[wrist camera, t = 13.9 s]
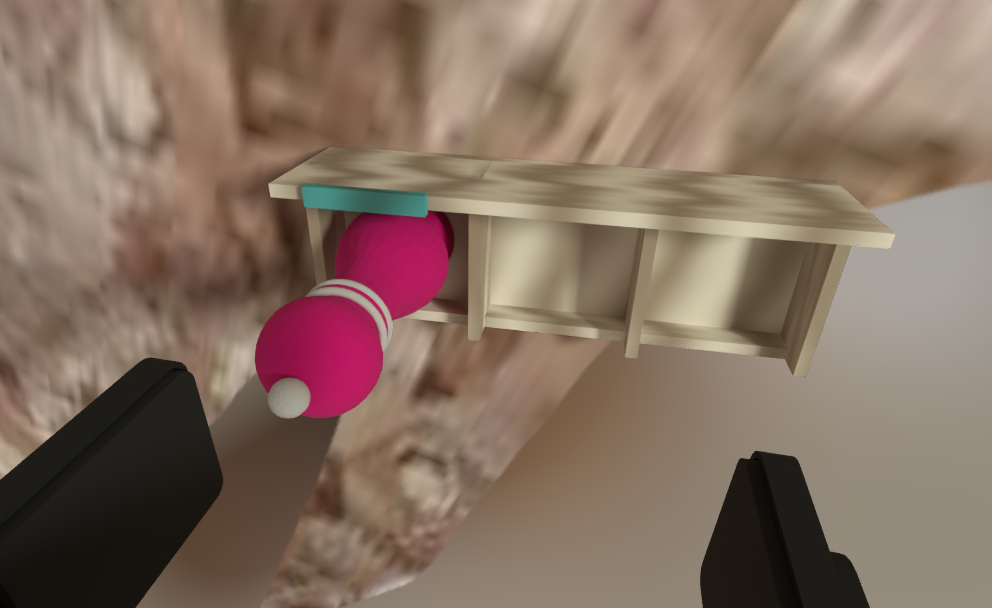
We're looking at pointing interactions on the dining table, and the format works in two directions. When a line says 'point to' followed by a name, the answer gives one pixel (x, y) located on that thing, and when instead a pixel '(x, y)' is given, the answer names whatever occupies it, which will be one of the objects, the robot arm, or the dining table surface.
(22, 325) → the dining table surface
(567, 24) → the dining table surface
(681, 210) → the rack
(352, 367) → the pepper mill
